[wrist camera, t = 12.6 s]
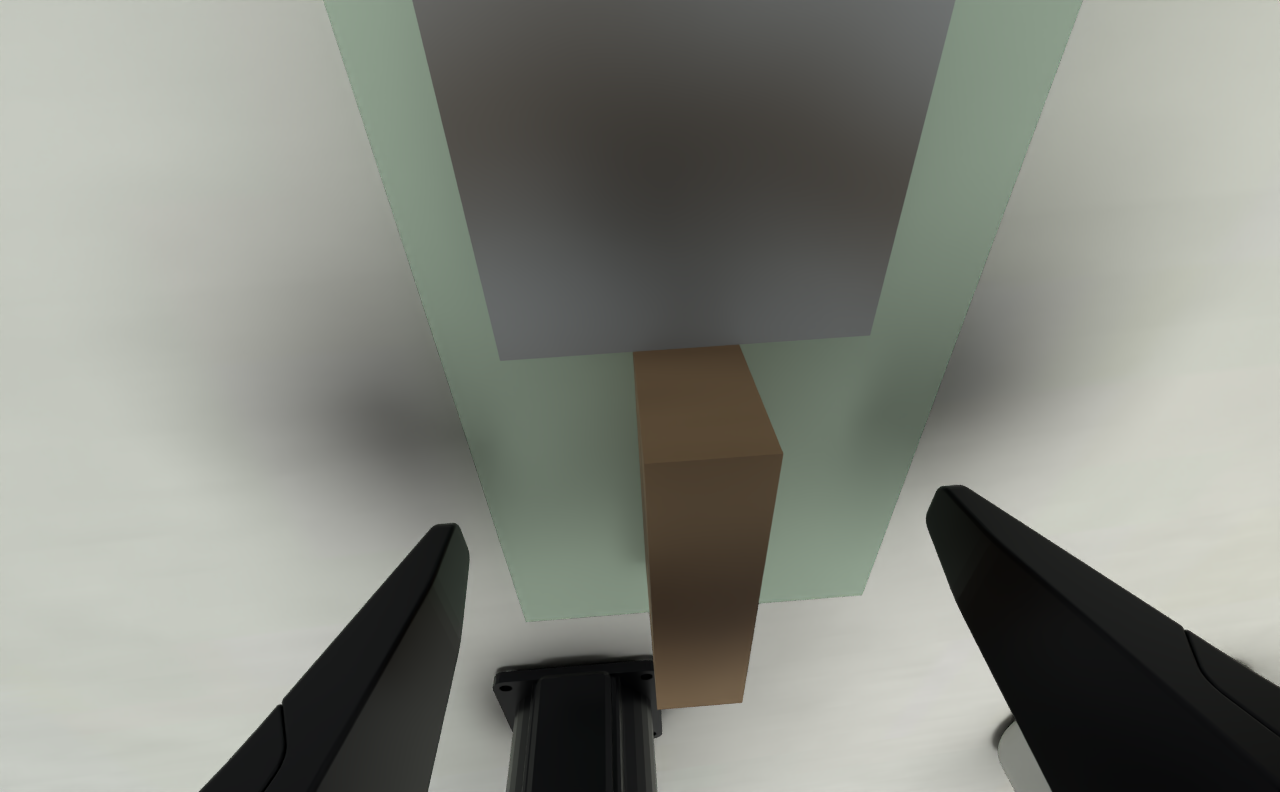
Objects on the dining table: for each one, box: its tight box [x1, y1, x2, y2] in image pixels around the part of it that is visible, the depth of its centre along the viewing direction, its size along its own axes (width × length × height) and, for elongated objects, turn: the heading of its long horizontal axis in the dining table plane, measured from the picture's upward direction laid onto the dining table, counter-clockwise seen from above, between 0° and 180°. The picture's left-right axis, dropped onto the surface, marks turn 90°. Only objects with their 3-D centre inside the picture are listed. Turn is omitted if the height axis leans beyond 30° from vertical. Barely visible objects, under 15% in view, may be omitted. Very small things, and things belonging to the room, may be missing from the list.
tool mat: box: [323, 0, 1083, 622], centre depth 12 cm, size 18×11×1 cm, turn 3°
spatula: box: [412, 0, 956, 710], centre depth 10 cm, size 14×7×4 cm, turn 2°
